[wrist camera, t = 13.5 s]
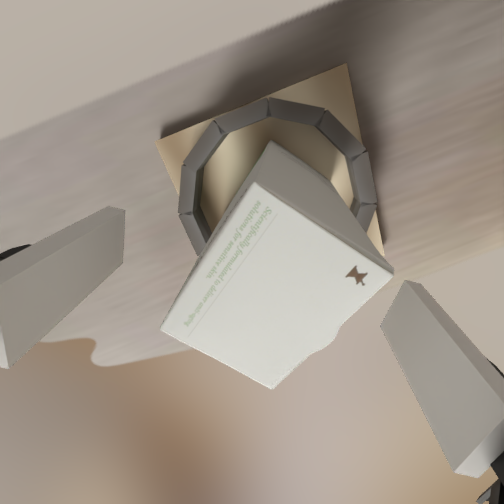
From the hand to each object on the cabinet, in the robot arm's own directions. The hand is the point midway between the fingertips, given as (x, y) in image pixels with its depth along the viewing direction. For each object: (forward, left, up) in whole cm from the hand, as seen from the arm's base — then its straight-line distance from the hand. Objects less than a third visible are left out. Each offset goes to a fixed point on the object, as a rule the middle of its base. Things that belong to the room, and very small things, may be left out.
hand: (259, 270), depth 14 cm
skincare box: (0, 0, -13) cm, 13 cm away
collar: (0, 0, -14) cm, 14 cm away
